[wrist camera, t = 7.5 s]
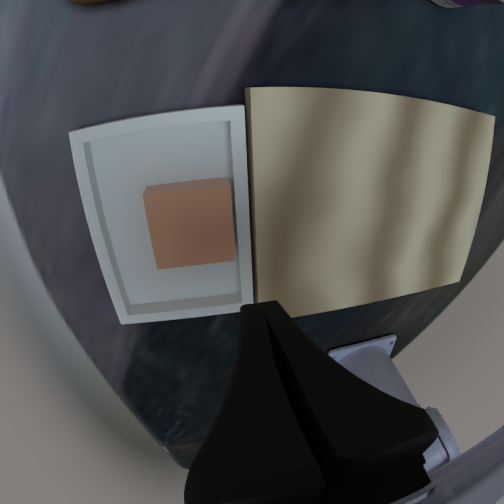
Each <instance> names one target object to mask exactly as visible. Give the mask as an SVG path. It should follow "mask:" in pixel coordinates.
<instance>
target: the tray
mask: <svg viewBox="0 0 504 504" xmlns="http://www.w3.org/2000/svg"><path fill="white" fill-rule="evenodd" d="M69 138H70V144H71V150H72V155H73V161H74V166H75V171H76V176H77V181H78V185H79V190H80V194H81V199H82V203H83V207H84V211H85V215H86V219H87V223H88V226H89V230H90V234H91V237H92V241H93V244H94V247H95V251H96V254H97V257H98V260H99V264H100V267H101V270H102V273H103V276H104V279H105V282H106V285H107V288H108V291H109V293H110V296H111V299H112V302H113V304H114V307H115V310H116V312H117V315H118V318H119V320H120V323H121V324H132V323H143V322H154V321H164V320H174V319H183V318H192V317H201V316H210V315H218V314H226V313H233V312H240V307H241V306H242V305H245V304H252V303H253V282H252V261H251V239H250V218H249V197H248V175H247V154H246V132H245V110H244V105H241V104H235V105H221V106H209V107H199V108H190V109H181V110H174V111H166V112H159V113H153V114H147V115H141V116H135V117H129V118H124V119H119V120H114V121H109V122H104V123H100V124H95V125H91V126H87V127H83V128H79V129H76V130H74V131H71V132H69ZM221 177H228V179H229V182H230V184H231V200H232V216H233V232H234V247H235V261H229V262H220V263H212V264H203V265H194V266H185V267H176V268H167V269H158V270H157V266H156V261H155V257H154V252H153V247H152V242H151V237H150V232H149V227H148V222H147V217H146V211H145V205H144V200H143V193H144V191H145V189H146V187H147V186H152V185H159V184H167V183H175V182H183V181H192V180H201V179H211V178H221Z"/></svg>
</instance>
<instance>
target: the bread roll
mask: <svg viewBox="0 0 504 504" xmlns="http://www.w3.org/2000/svg"><path fill="white" fill-rule="evenodd" d="M70 1H72V2H74V3H78V4H92V3H99V2H105V1H109V0H70Z"/></svg>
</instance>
